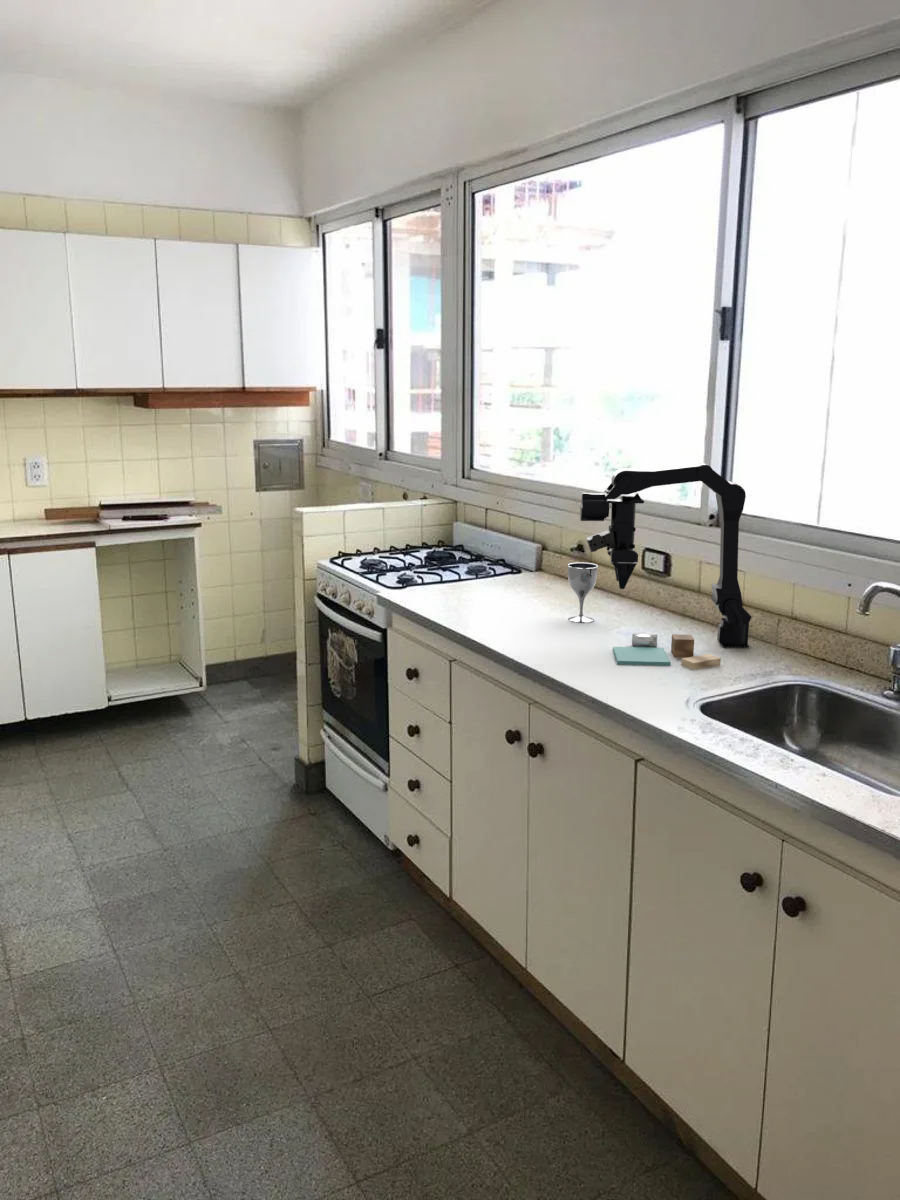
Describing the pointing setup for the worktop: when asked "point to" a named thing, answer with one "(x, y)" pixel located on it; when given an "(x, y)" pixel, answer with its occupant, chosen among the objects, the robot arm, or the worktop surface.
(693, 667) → the beech slab
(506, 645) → the worktop surface
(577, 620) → the wine glass
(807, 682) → the worktop surface
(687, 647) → the walnut block
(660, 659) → the plate
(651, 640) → the metal tin
